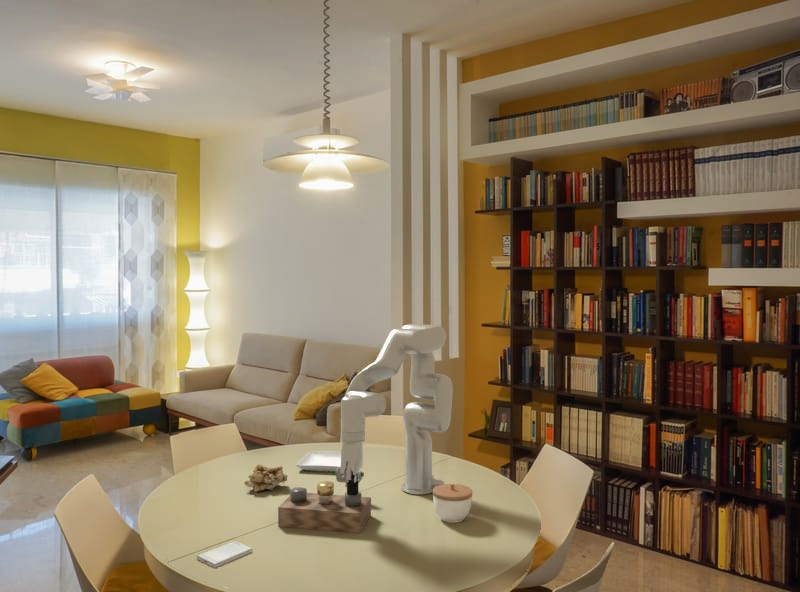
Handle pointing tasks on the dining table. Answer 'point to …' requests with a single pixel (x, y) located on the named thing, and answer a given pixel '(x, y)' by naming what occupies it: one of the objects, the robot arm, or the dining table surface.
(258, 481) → the mineral formation
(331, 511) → the knob panel
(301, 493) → the knob
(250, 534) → the dining table surface
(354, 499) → the knob
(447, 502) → the lidded bowl
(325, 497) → the knob middle
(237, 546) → the hard drive
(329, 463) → the salad plate
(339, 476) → the mechanical component
